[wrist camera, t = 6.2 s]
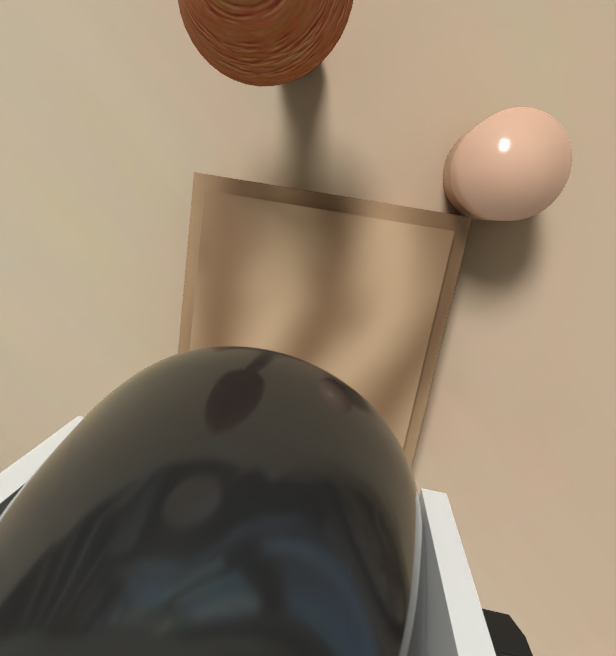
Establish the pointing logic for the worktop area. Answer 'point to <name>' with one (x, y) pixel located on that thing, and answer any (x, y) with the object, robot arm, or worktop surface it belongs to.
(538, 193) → the pink rounded glossy part
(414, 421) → the walnut tray
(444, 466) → the worktop surface
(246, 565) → the pump dispenser
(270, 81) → the mushroom
